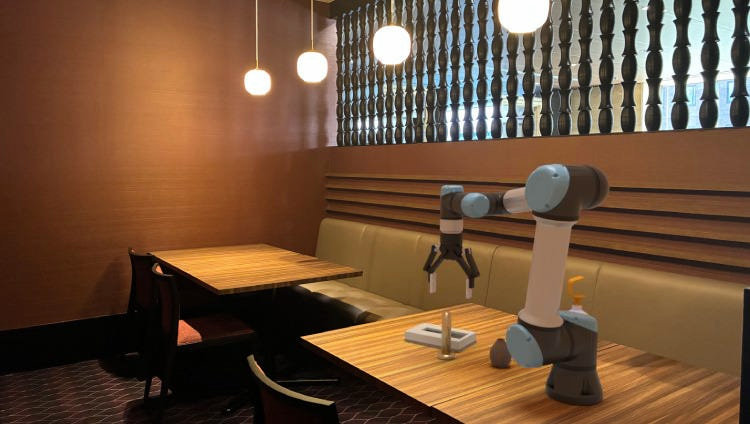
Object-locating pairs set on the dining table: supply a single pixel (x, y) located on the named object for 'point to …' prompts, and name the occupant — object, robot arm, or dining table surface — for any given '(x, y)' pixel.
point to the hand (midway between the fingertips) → (450, 295)
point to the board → (439, 337)
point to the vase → (500, 354)
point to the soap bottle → (575, 296)
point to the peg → (446, 338)
